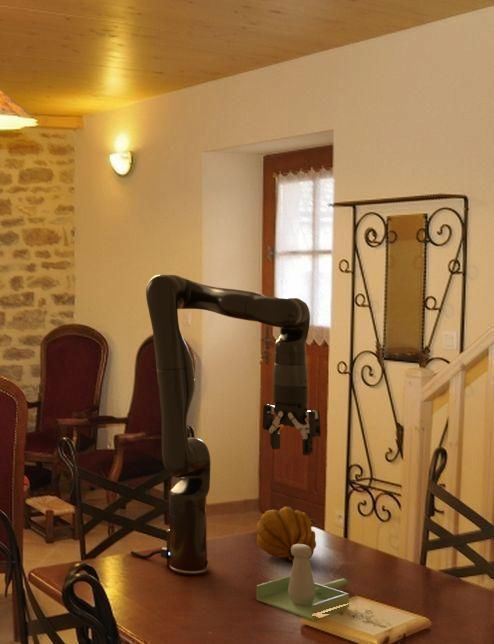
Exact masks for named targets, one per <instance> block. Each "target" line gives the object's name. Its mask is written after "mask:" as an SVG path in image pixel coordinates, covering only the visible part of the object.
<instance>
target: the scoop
mask: <svg viewBox="0 0 494 644" xmlns="http://www.w3.org/2000/svg"><path fill="white" fill-rule="evenodd" d="M290 577H291V574H290V575H287V576H284V577H280V578H276V579H273V580H270V581H266V582H262V583H260V584H257V585H256V601H258V602H261V603H264V604H267V605H269V606H272V607H275V608H277V609H280V610H283V611H286V612H289V613H291V614H294V615H296V616H300V617H302V618H305V619H308V620H310V621H312V622H314V621H318V620H320V619H321V618H318V617H316V616H312V614H313V613H317V612H321V611H323V610H326V609H329V608H333V607H336V606H339V605H343V604H347V603H349V604H348V605H346V606H343V607H340V608H337V609H334V610H331V611H328V612H325V613H322V614H332V615H335V614H337V613H341V612H344V611H346V610H348V609H349V607H350V593H348V592H345V591H342V590H341V589H345V588H346V587H348V586H349V582H348V579H346V578H339V579H335V580H333V581H329V582H326V583H323V584H320V583H317V582H314V587H315V592H316V595H315V598H314V600H313V602H312V604H311V605H309V606H300V605H297V604H294V603H293V602H292V600H291V598H290V595H289V593H288V587H289V582H290Z"/></svg>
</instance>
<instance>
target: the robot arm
mask: <svg viewBox="0 0 494 644" xmlns="http://www.w3.org/2000/svg"><path fill="white" fill-rule="evenodd" d="M145 298H146V299H145V300H146V304H147V309H148V314H149V319H150V324H151V329H152V336H153V345H154V347H153V348H154V354H155V364H156V378H157V386H158V393H159V405H160V418H161V459H162V464H163V467H164V469H165V471H166V472H167V474H168V475H169V476H170V477H172V478H175V479H177V481H176V483H175V484H174V485H173V486H172V487H171V488H170V490H169V492H168V516H169V517H168V520H169V521H168V522H169V523H168V524H169V525H168V529H166V546H164V547H160V549H156V550H153V551H151V552H150V553H149V554H141V553H139V552H136V551H133V550H131V552H130V554H131V555H133V556H135V557H138V558H139V559H140V558H141V559H150V558H151V557H153V556H155V555H157V554H160V558H163V559H165V560H166V567H167V568H169V570H170V571H171V572H173V573H175V574H179V575H183V576H201V575H204V574H207V573H208V571H209V569H208V568H209V561H208V514H207V511H208V510H207V503H208V502H207V496H208V495H209V492H210V488H211V466H212V465H211V464H212V463H211V454H210V451H209V448H208V446H207V444H206V443H205V442H204V440H202V439H200V438H197V437H188V426H187V425H188V424H187V423H188V415H189V411H190V408H191V405H192V402H193V399H194V395H195V390H196V377H195V369H194V368H195V367H194V361H193V357H192V355H191V352H190V350H189V347H188V345H187V343H186V341H185V338H184V337H183V334H182V331H181V328H180V323H179V311H178V310H203V311H209V312H212V313H215V314H219V315H221V316H225V317H229V318H233V319H237V320H243V321H248V322H257V323H260V324H263V325H266V326H271V327H274V328H278V329H280V331H279V337H278V338H277V339H276V341H275V342H274V347H273V349H274V351H273V354H274V355H273V359H274V360H273V361H274V362H273V363H274V366H273V373H272V374H273V375H272V377H273V402H274V403H275V405H274V404H273V403H269V404H264V405H263V408H262V429H263V430H265V431H268V432H269V441H270V447H271V449H272V450H280V448H281V433H280V431H281V430H282V428H283V427H287V426H288V427H291V428H296V430H297V431H298V432H299V433H300V434H301V436H302V455H303V456H310V455H312V453H313V451H314V438H319V437H321V436H322V429H321V428H322V427H321V412H320V411H319V410H318V409H316V410H308V408H307V407H308V402H309V384H308V383H309V382H308V381H309V379H308V378H309V377H308V368H307V367H308V366H307V340H308V336H309V331H310V324H311V312H310V308H309V306H308V304H307V302H306V301H304V300H303V299H302V298H299V297H278V296H277V297H276V296H268V295H265V294H262V293H259V292H255V291H249V290H242V289H235V288H225V287H216V286H211V285H207V284H203V283H200V282H196V281H193V280H190V279H189V278H185V277H182V276H180V275H177V274H157V275H154V276H152V277H151V278H150V280H149V281H148V283H147V285H146V289H145ZM275 416H276V417H275Z"/></svg>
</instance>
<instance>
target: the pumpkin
mask: <svg viewBox="0 0 494 644" xmlns="http://www.w3.org/2000/svg"><path fill="white" fill-rule="evenodd" d="M314 526H315V519H310V518H309V516H308V515H307V513H306V512H304V511H302V512H301V510H299V509H296V510H294V509H292V508H291V506H287V505H285V506H283V507H282V508H280V509H279V510H277V509H269V510H266V511H265V512H264V513H263V514H262V515H261V516H260V519H259V520H258V522H257V524H256V531H257V536H256V544H257V546H258V548H260V549H261V550H262V551H264V552H265V553H266V554H267V555H269V556H271V557H275V558H287V559H288V560H289V561H291V563H293V562H294V557H295V556H293V555H292V553H291V547H292V546H293V545H294V544H304V545H307V546H309V547H310V548H311V551H312V554H311V556H310V557H309V560H310V559H311V558H312V557H313V556H314V552H315V551H314V550H315V548H316V547H317V540H316V532H315V531H314V530H312V527H314Z"/></svg>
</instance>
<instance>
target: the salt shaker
mask: <svg viewBox="0 0 494 644" xmlns="http://www.w3.org/2000/svg"><path fill="white" fill-rule="evenodd" d="M291 553H292V555H293V556H295V557H294V562H292V566H291V573H290V575H291V577H290V582H289V587H288V593H289V595H290V598H291V600H292V602H293V603H294V604H297V605H300V606H309V605H311V604H312V602H313V600H314V598H315V597H316V596H315V595H316V592H315V587H314V583H315V582H314V578H313V572H312V567H311V562H310V559H309V557H310V556H311V554H312V551H311V548H310V547H309V546H307V545H304V544H294V545H293V546H292V547H291Z"/></svg>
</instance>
